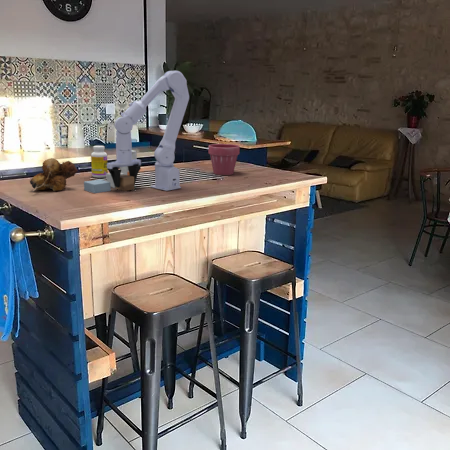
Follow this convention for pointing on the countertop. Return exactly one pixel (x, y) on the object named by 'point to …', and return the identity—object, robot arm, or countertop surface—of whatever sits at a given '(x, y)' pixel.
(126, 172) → the skincare box
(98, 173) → the supplement bottle
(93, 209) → the countertop surface
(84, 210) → the countertop surface
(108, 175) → the grey block
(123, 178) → the walnut block
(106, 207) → the countertop surface
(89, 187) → the base block
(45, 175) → the seed pod
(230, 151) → the plant pot
